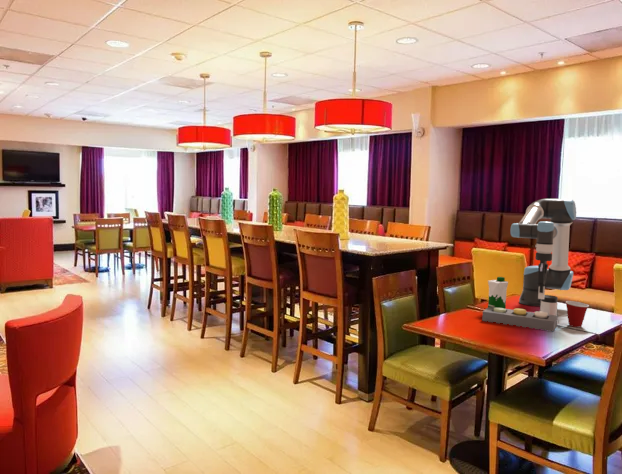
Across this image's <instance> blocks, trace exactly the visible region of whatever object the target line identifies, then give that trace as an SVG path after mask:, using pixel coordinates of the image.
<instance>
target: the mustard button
mask: <svg viewBox="0 0 622 474" xmlns="http://www.w3.org/2000/svg"><path fill="white" fill-rule="evenodd" d="M513 310H514V314H517V315H526V312H527V309H524V308H519V307H518V308H514V309H513Z"/></svg>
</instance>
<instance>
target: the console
mask: <svg viewBox="0 0 622 474" xmlns="http://www.w3.org/2000/svg"><path fill="white" fill-rule="evenodd" d="M494 308H497V307H488V306H487V308H485V309H484V310H482V318H481V319H482V322H487V321H488V323H493V322H496V323H495V324H500V323H503V324H502V325H507V324H509V326H513V325H516V326H515V327H520V326H522V327H521V328H526V327H529V328H528V329H533V328H535V329H534V330H539V329H542V330H541V331H546V330H548V332H552V331H555V329H556V328H557V327H558V317H559V316H558V315H557V316H555V315H548V314H547V318H538V317H535V316H534V313H535V312H533V311H526V315H517V314H514V309H510V308H506V313H501V312H494Z"/></svg>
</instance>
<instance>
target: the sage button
mask: <svg viewBox="0 0 622 474" xmlns="http://www.w3.org/2000/svg"><path fill="white" fill-rule="evenodd" d="M506 309H507V308H506ZM506 309H504V308H494V312H501V313H506Z"/></svg>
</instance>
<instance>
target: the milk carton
mask: <svg viewBox="0 0 622 474" xmlns="http://www.w3.org/2000/svg"><path fill="white" fill-rule="evenodd" d="M505 279H506V277H503V276H497V278H496V279H491V280H487V285H488V304H487V308H488V307H497V308H504V309H507V308H506V307H507V305H506V302H507V289H508V285H509V281H506V280H505Z"/></svg>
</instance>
